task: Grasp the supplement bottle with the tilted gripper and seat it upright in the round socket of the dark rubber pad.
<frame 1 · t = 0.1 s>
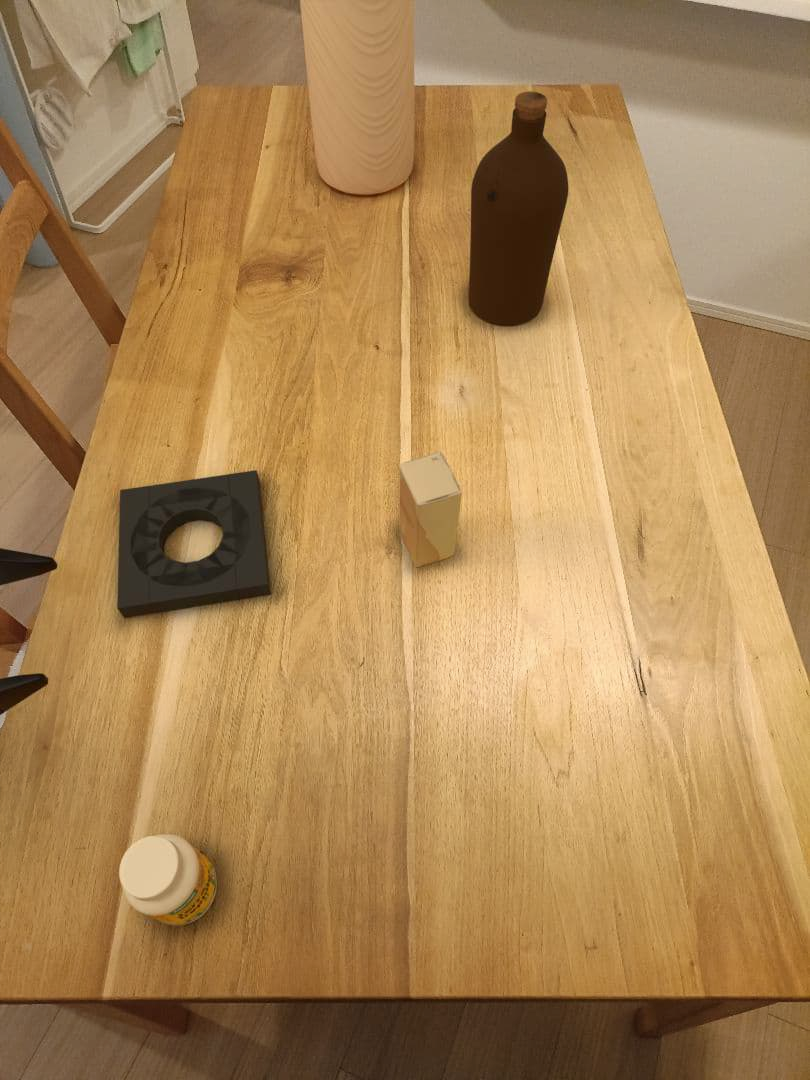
hand: (50, 618, 54), 17 cm above the table, tool horizontal, fingers open, 9 cm apart
supplement bottle: (184, 889, 60), on the table
olive oil: (505, 302, 97), on the table
vase: (365, 171, 113), on the table
box: (427, 544, 77), on the table
socket pad: (195, 545, 77), on the table
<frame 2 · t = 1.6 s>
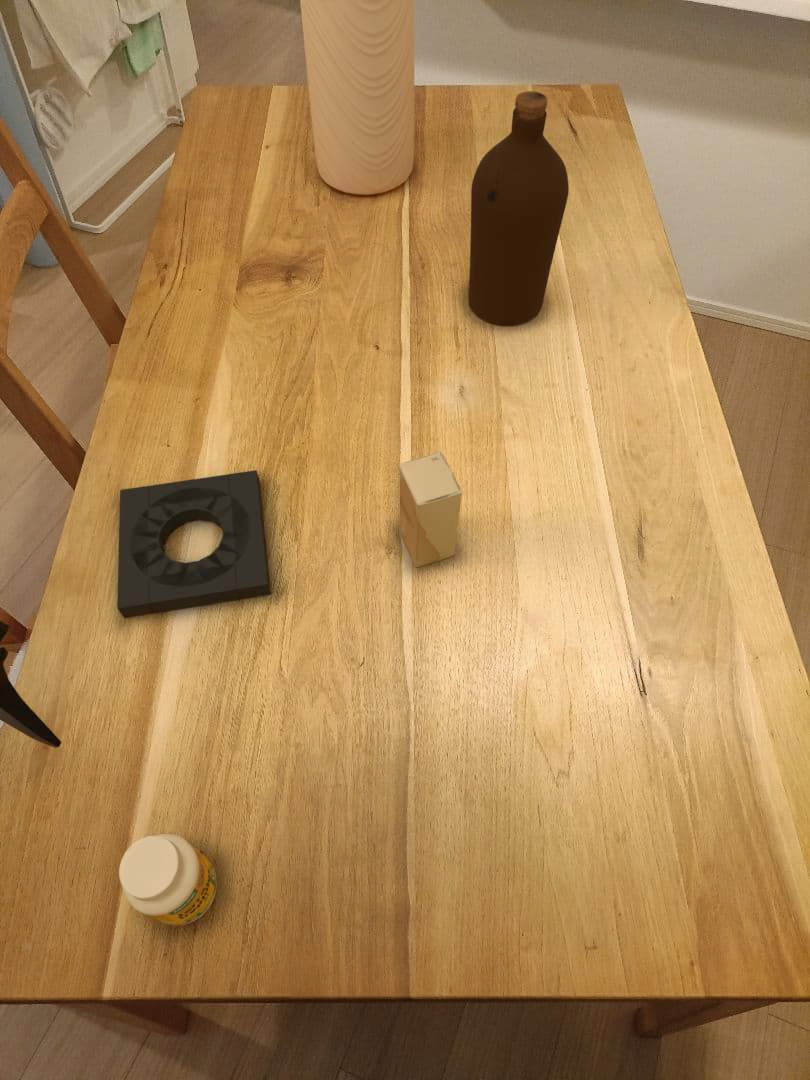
hand: (20, 811, 50), 14 cm above the table, tool tilted 45°, fingers open, 9 cm apart
nothing on the table moved.
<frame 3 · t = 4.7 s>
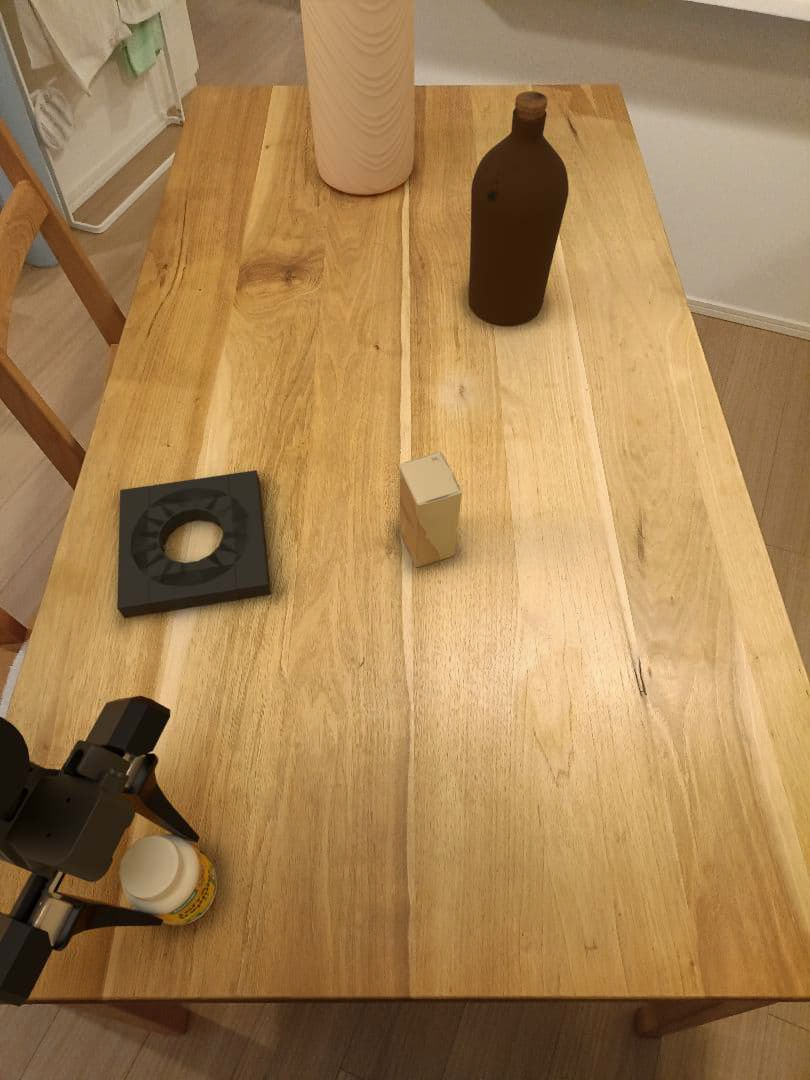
hand: (178, 880, 54), 7 cm above the table, tool tilted 45°, fingers closed on supplement bottle, 5 cm apart
supplement bottle: (184, 889, 60), on the table, touching gripper
everything else where it was.
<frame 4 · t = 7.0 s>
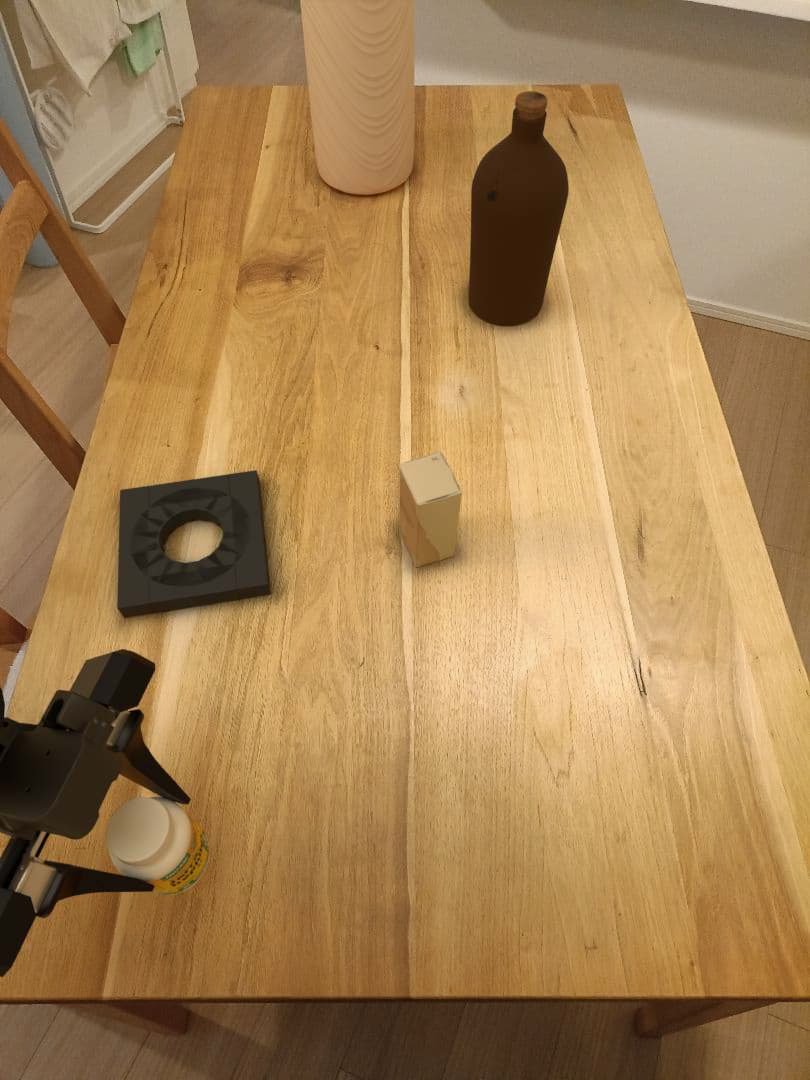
hand: (169, 844, 51), 11 cm above the table, tool tilted 45°, fingers closed on supplement bottle, 5 cm apart
supplement bottle: (175, 858, 57), point 4 cm above the table, touching gripper
everything else where it was.
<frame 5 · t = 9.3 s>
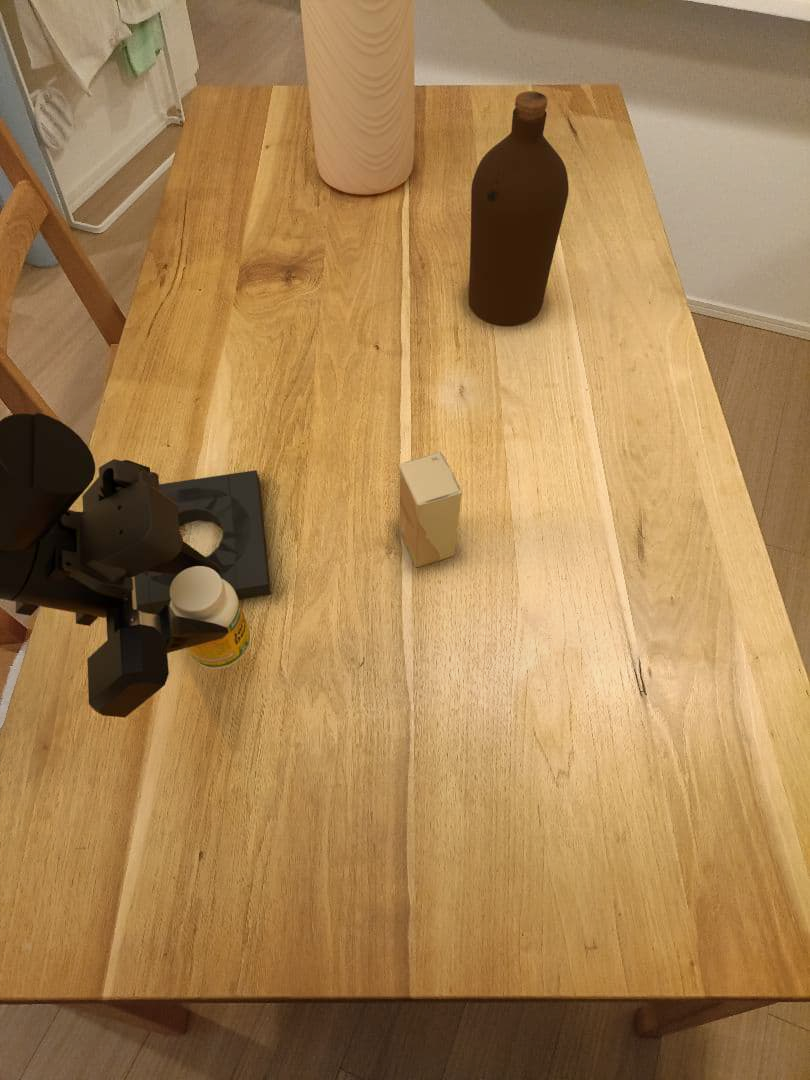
hand: (221, 602, 61), 11 cm above the table, tool tilted 45°, fingers closed on supplement bottle, 5 cm apart
supplement bottle: (220, 643, 66), point 4 cm above the table, touching gripper
everything else where it was.
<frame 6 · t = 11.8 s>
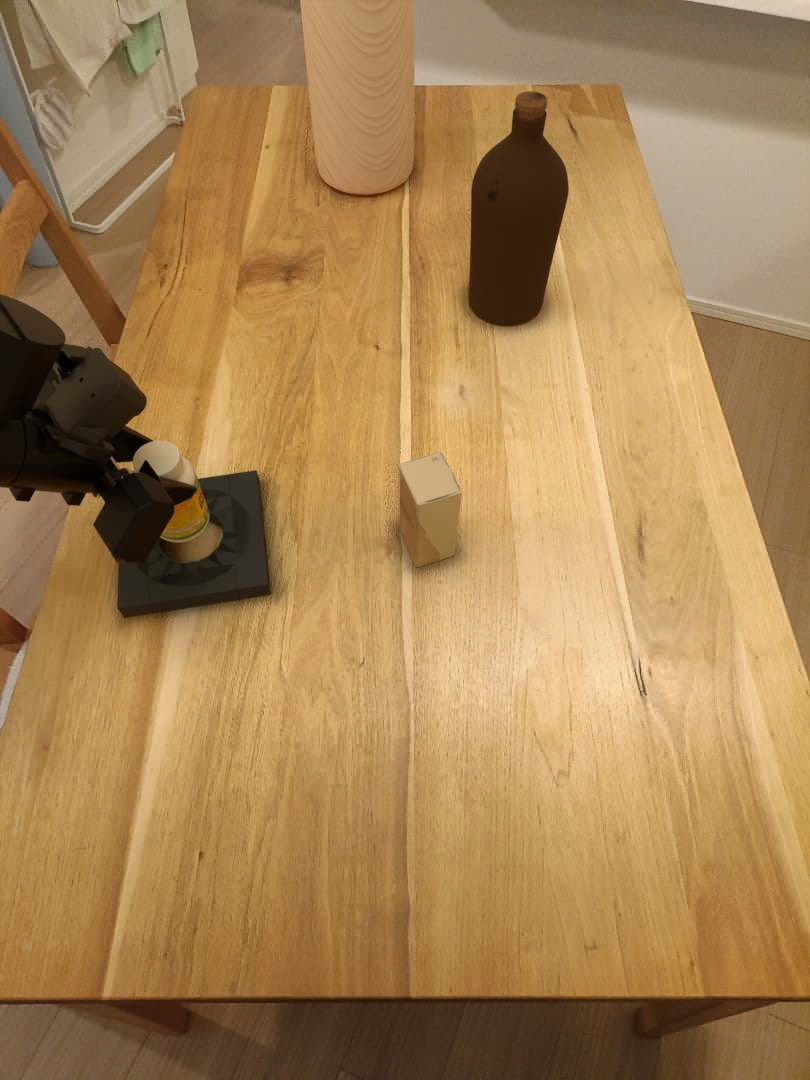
hand: (178, 472, 68), 11 cm above the table, tool tilted 45°, fingers closed on supplement bottle, 5 cm apart
supplement bottle: (182, 522, 74), point 4 cm above the table, touching gripper
everything else where it was.
when the fingers open (7 cm above the table, at t = 13.8 s): supplement bottle stays where it is, resting in socket pad.
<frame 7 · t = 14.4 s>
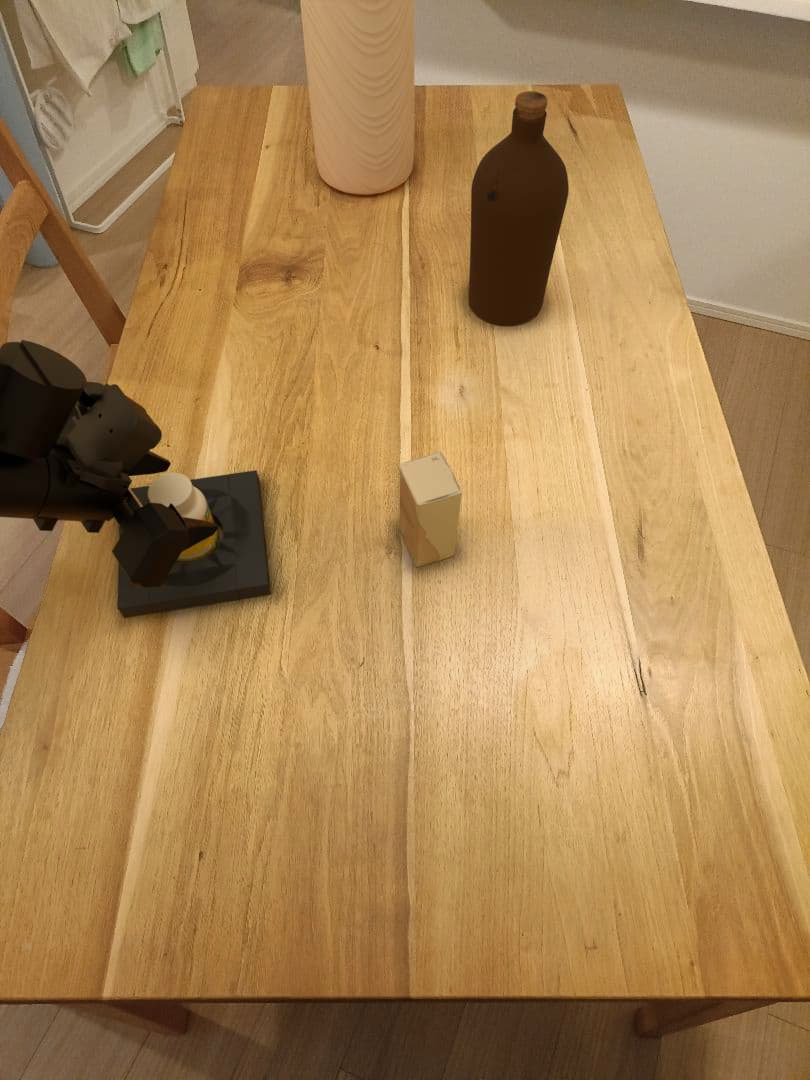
hand: (191, 496, 72), 7 cm above the table, tool tilted 45°, fingers open, 9 cm apart
supplement bottle: (194, 547, 77), resting in socket pad
everything else where it was.
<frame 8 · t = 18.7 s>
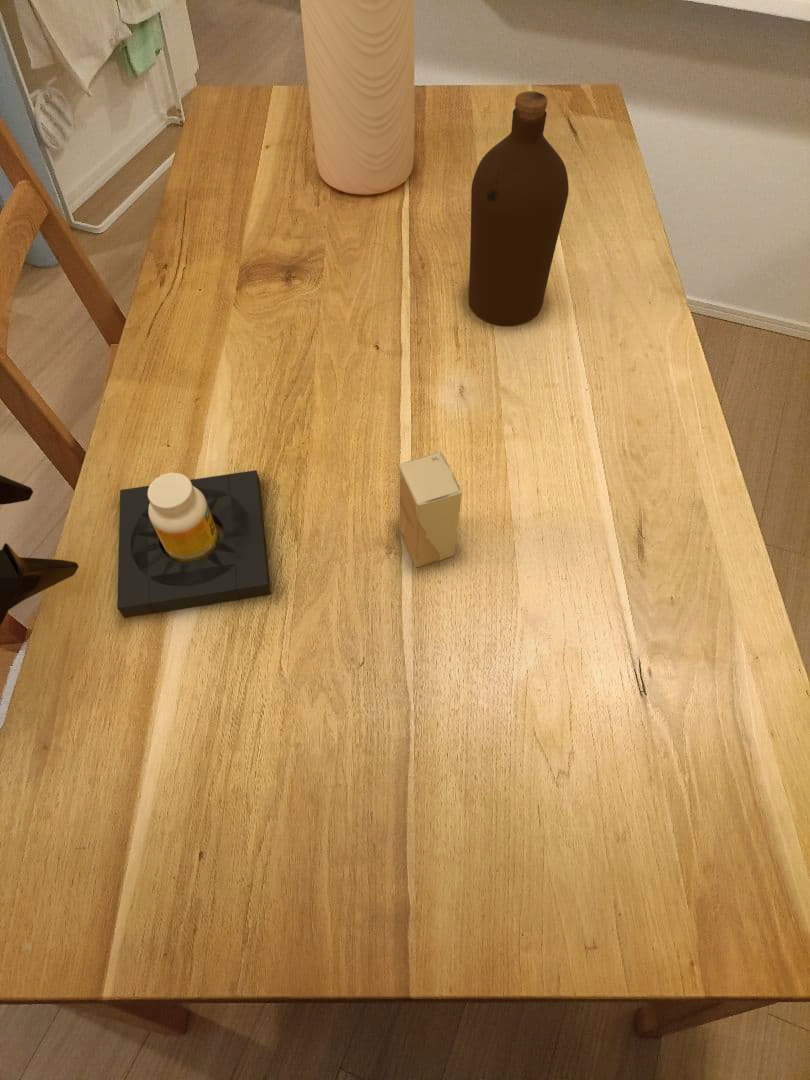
hand: (52, 530, 63), 13 cm above the table, tool tilted 45°, fingers open, 9 cm apart
nothing on the table moved.
at the end: supplement bottle 0.1 cm off-centre in the socket pad, point 0.0 cm above the socket pad's base; supplement bottle tilted 0°; the gripper is holding nothing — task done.
